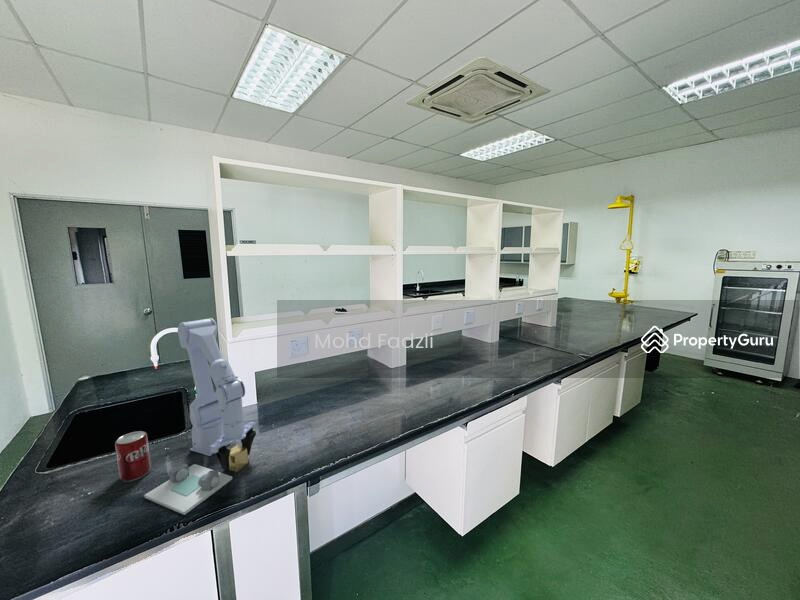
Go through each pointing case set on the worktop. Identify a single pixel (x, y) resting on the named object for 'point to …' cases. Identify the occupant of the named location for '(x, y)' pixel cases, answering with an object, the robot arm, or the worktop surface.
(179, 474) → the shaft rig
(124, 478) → the soda can
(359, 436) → the worktop surface
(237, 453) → the block
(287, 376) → the worktop surface
